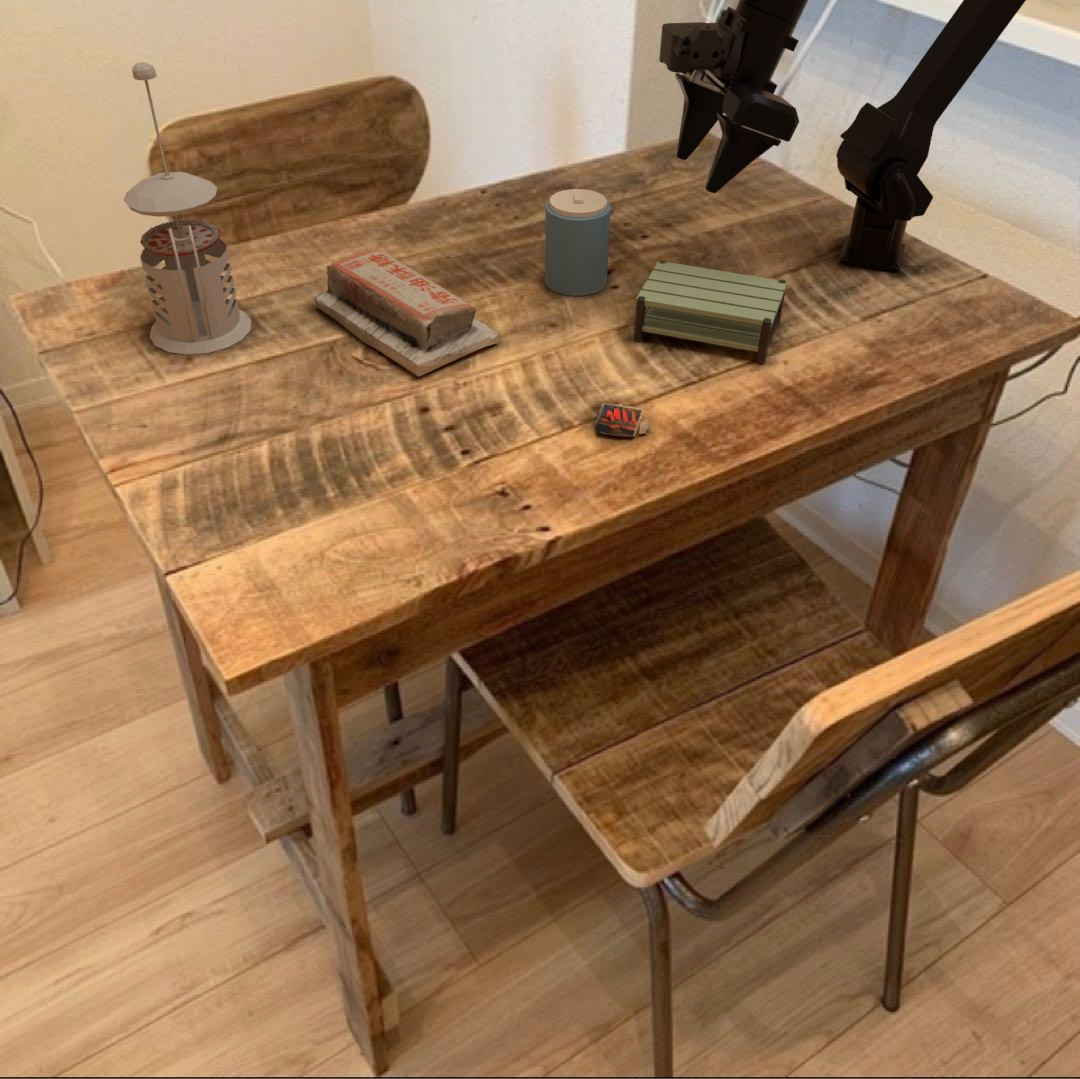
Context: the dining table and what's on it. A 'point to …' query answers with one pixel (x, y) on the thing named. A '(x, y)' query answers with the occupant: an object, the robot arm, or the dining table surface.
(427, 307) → the packaged product
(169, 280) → the french press
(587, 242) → the tissue tub
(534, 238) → the dining table surface
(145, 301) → the dining table surface
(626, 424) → the matchbox
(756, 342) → the rack
